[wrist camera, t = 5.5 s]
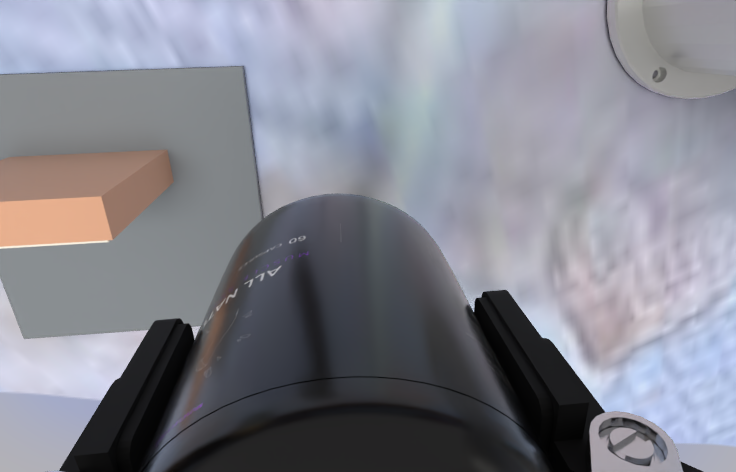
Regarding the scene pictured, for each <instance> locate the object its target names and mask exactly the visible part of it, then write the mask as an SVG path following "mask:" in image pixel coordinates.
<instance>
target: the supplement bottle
mask: <svg viewBox="0 0 736 472" xmlns="http://www.w3.org/2000/svg"><path fill="white" fill-rule="evenodd" d="M138 472H555V469H554V467H553V465H552V463H551V461H550V459H549V457H548V455H547V453H546V451H545V449H544V447H543V445H542V443H541V441H540V439H539V437H538V435H537V433H536V432H535V430H534V428H533V426H532V424H531V422H530V420H529V418H528V416H527V414H526V412H525V410H524V408H523V406H522V405H521V403H520V401H519V399H518V397H517V395H516V393H515V391H514V389H513V387H512V385H511V383H510V381H509V379H508V378H507V376H506V374H505V372H504V370H503V368H502V366H501V364H500V362H499V360H498V358H497V356H496V354H495V353H494V351H493V349H492V347H491V345H490V343H489V341H488V339H487V337H486V335H485V333H484V331H483V329H482V327H481V326H480V324H479V322H478V320H477V318H476V316H475V314H474V312H473V310H472V308H471V306H470V304H469V302H468V300H467V299H466V297H465V295H464V293H463V291H462V289H461V287H460V285H459V283H458V281H457V279H456V277H455V275H454V274H453V272H452V270H451V268H450V266H449V264H448V263H447V261H446V259H445V257H444V255H443V254H442V252H441V250H440V249H439V247H438V245H437V244H436V242H435V241H434V240H433V238H432V237H431V236H430V234H429V233H428V232H427V231H426V230H425V229H424V228H423V227H422V226H421V225H420V224H419V223H418V222H417V221H416V220H415V219H413V218H412V217H411V216H409V215H408V214H406V213H405V212H403V211H401V210H400V209H398V208H396V207H394V206H392V205H390V204H387V203H385V202H382V201H379V200H376V199H373V198H369V197H365V196H360V195H352V194H325V195H318V196H313V197H309V198H305V199H301V200H298V201H296V202H293V203H290V204H288V205H286V206H284V207H282V208H279V209H278V210H276V211H274V212H273V213H271V214H269V215H268V216H267V217H265V218H264V219H263V220H261V221H260V222H259V223H258V224H257V225H256V226H254V227H253V228H252V229H251V230H250V231H249V233H248V234H247V235H246V236H245V237H244V238H243V240H242V241H241V243H240V244H239V245H238V247H237V248H236V250H235V252H234V254H233V255H232V257H231V259H230V261H229V263H228V265H227V268H226V270H225V272H224V274H223V276H222V278H221V281H220V283H219V285H218V288H217V290H216V292H215V294H214V297H213V299H212V301H211V304H210V306H209V308H208V311H207V313H206V315H205V318H204V320H203V322H202V324H201V327H200V329H199V331H198V334H197V336H196V338H195V341H194V343H193V345H192V348H191V350H190V352H189V355H188V357H187V359H186V361H185V364H184V366H183V368H182V371H181V373H180V375H179V378H178V380H177V382H176V385H175V387H174V389H173V391H172V394H171V396H170V398H169V401H168V403H167V405H166V408H165V410H164V412H163V415H162V417H161V419H160V421H159V424H158V426H157V428H156V431H155V433H154V435H153V438H152V440H151V442H150V445H149V447H148V449H147V452H146V454H145V456H144V459H143V461H142V463H141V465H140V468H139V470H138Z"/></svg>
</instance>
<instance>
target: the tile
mask: <svg viewBox="0 0 736 472" xmlns="http://www.w3.org/2000/svg"><path fill="white" fill-rule="evenodd" d="M173 182H174V181H173V176H172V171H171V166H170V161H169V156H168V151H167V150H148V151H127V152H105V153H84V154H63V155H41V156H20V157H8V158H5V159H2V160H0V249H3V248H20V247H36V246H53V245H70V244H87V243H103V242H109V241H110V240H113V239H114V238H115V237H116V236H118V235H119V234H120V233H121V232H122V231H123V230H124V229H125V228H126V227H127V226H128V225H129V224H130V223H131V222H132V221H133V220H134V219H135V218H136V217H137V216H139V215H140V214H141V213H142V212H143V211H144V210H145V209H146V208H147V207H148V206H149V205H150V204H151V203H152V202H153V201H154V200H155V199H156V198H157V197H158V196H160V195H161V194H162V193H163V192H164V191H165V190H166V189H167V188H168V187H169V186H170V185H171V184H172V183H173Z"/></svg>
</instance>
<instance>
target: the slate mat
mask: <svg viewBox="0 0 736 472" xmlns="http://www.w3.org/2000/svg"><path fill="white" fill-rule="evenodd" d="M148 150H167V151H168V156H169V161H170V166H171V171H172V176H173V181H174V182H173V183H172V184H171V185H170V186H169V187H168V188H167V189H166V190H165V191H164V192H163V193H162V194H161V195H160V196H158V197H157V198H156V199H155V200H154V201H153V202H152V203H151V204H150V205H149V206H148V207H147V208H146V209H145V210H144V211H143V212H142V213H141V214H140V215H139V216H137V217H136V218H135V219H134V220H133V221H132V222H131V223H130V224H129V225H128V226H127V227H126V228H125V229H124V230H123V231H122V232H121V233H120V234H119V235H118V236H116V237H115V238H114V239H113V240H110V241H109V242H103V243H87V244H70V245H53V246H36V247H20V248H3V249H0V278H1V281H2V283H3V286H4V289H5V291H6V294H7V296H8V299H9V302H10V304H11V307H12V309H13V312H14V315H15V317H16V320H17V322H18V325H19V328H20V330H21V333H22V335H23V338H24V339H31V338H44V337H58V336H72V335H85V334H99V333H113V332H126V331H140V330H149V329H150V327H151V326H152V324H153V322H154V321H156V320H164V319H175V318H180V319H182V321H183V323H184V324H186V323H189V324H190V325H191V327H195V326H201V324H202V322H203V320H204V318H205V315H206V313H207V311H208V308H209V306H210V304H211V301H212V299H213V297H214V294H215V292H216V290H217V288H218V285H219V283H220V281H221V278H222V276H223V274H224V272H225V270H226V268H227V265H228V263H229V261H230V259H231V257H232V255H233V254H234V252H235V250H236V248H237V247H238V245H239V244H240V243H241V241H242V240H243V238H244V237H245V236H246V235H247V234H248V233H249V231H250V230H251V229H252V228H253V227H254V226H256V225H257V224H258V223H259V222H260V221H261V220H263V215H262V207H261V200H260V192H259V184H258V176H257V168H256V160H255V152H254V144H253V136H252V128H251V120H250V112H249V104H248V96H247V89H246V81H245V73H244V66H231V67H202V68H174V69H145V70H116V71H87V72H59V73H30V74H1V75H0V160H2V159H5V158H8V157H20V156H41V155H63V154H84V153H105V152H127V151H148Z"/></svg>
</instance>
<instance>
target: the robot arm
mask: <svg viewBox="0 0 736 472" xmlns="http://www.w3.org/2000/svg"><path fill="white" fill-rule="evenodd" d="M607 21H608V28H609V35H610V39H611V42H612V45H613V48H614V51H615V54H616V56H617V58H618V59H619V61H620V63H621V64H622V66H623V67H624V69H625V71H626V72H627V73H628V74H629V75H630V76H631V77H632V78H633V79H634V80H635V81H636V82H637V83H638V84H640V85H642V86H643V87H645V88H647V89H649V90H650V91H652V92H655V93H658V94H661V95H665V96H668V97H675V98H682V99H701V98H708V97H712V96H716V95H720V94H724V93H726V92H728V91H731V90H733V89H735V88H736V0H607ZM474 314H475V316H476V318H477V320H478V322H479V324H480V326H481V327H482V329H483V331H484V333H485V335H486V337H487V339H488V341H489V343H490V345H491V347H492V349H493V351H494V353H495V354H496V356H497V358H498V360H499V362H500V364H501V366H502V368H503V370H504V372H505V374H506V376H507V378H508V379H509V381H510V383H511V385H512V387H513V389H514V391H515V393H516V395H517V397H518V399H519V401H520V403H521V405H522V406H523V408H524V410H525V412H526V414H527V416H528V418H529V420H530V422H531V424H532V426H533V428H534V430H535V432H536V433H537V435H538V437H539V439H540V441H541V443H542V445H543V447H544V449H545V451H546V453H547V455H548V457H549V459H550V461H551V463H552V465H553V467H554V469H555V472H703V471H701V470H698V469H696V468H693V467H691V466H689V465H687V464H685V463H682V462H680V458H679V455H678V451H677V448H676V446H675V444H674V442H673V440H672V439H671V438H670V437H669V436H668V435H667V434H666V432H665V431H663V430H662V429H661V428H659V427H658V426H657V425H655V424H654V423H652V422H650V421H648V420H646V419H644V418H642V417H640V416H637V415H634V414H630V413H626V412H617V411H614V412H605V411H604V410H603V409H602V407H601V406H600V405H599V403H598V402H597V401H596V399H595V398H594V397H593V396H592V394H591V393H590V392H589V390H588V389H587V388H586V386H585V385H584V384H583V382H582V381H581V380H580V378H579V377H578V376H577V374H576V373H575V372H574V370H573V369H572V368H571V366H570V365H569V364H568V363H567V361H566V360H565V359H564V357H563V356H562V355H561V353H560V352H559V351H558V349H557V348H556V347H555V345H554V344H553V343H552V342H551V341H550V340H549V339H546V338H542V337H541V336H540V335H539V333H538V332H537V330H536V329H535V328H534V326H533V325H532V324H531V322H530V321H529V320H528V318H527V317H526V315H525V314H524V313H523V311H522V310H521V309H520V307H519V306H518V305H517V303H516V302H515V301H514V299H513V298H512V296H511V295H510V294H509V292H508V291H507V290H499V291H487V292H483V294H482V298H476V300H475V309H474ZM194 341H195V340H194V336H193V332H192V328H191V325H190V324H189V323H186V324H184V323H183V321H182V319H180V318H175V319H164V320H156V321H154V322H153V324H152V326H151V327H150V329H149V331H148V332H147V334H146V336H145V337H144V339H143V341H142V342H141V344H140V346H139V347H138V349H137V351H136V352H135V354H134V356H133V357H132V359H131V361H130V362H129V364H128V366H127V367H126V369H125V371H124V372H123V374H122V376H121V377H120V378H119V379H117V380H115V381H114V383H113V384H112V385H111V387H110V388H109V390H108V391H107V393H106V395H105V396H104V398H103V400H102V401H101V403H100V405H99V406H98V408H97V410H96V411H95V413H94V415H93V416H92V418H91V420H90V421H89V423H88V424H87V426H86V428H85V429H84V431H83V432H82V434H81V436H80V437H79V439H78V441H77V442H76V444H75V446H74V447H73V449H72V451H71V452H70V454H69V455H68V457H67V459H66V460H65V462H64V464H63V465H62V467H61V468H60V470H59V471H58V470H57V471H47V472H138V470H139V468H140V465H141V463H142V461H143V459H144V456H145V454H146V452H147V449H148V447H149V445H150V442H151V440H152V438H153V435H154V433H155V431H156V428H157V426H158V424H159V421H160V419H161V417H162V415H163V412H164V410H165V408H166V405H167V403H168V401H169V398H170V396H171V394H172V391H173V389H174V387H175V385H176V382H177V380H178V378H179V375H180V373H181V371H182V368H183V366H184V364H185V361H186V359H187V357H188V355H189V352H190V350H191V348H192V345H193V343H194Z"/></svg>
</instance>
